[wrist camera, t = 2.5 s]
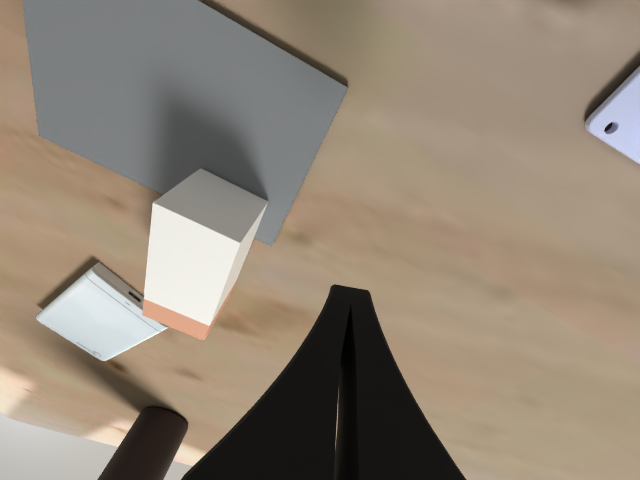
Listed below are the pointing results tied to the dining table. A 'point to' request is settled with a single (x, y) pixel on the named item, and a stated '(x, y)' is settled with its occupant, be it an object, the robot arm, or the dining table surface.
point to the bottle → (147, 447)
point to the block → (198, 250)
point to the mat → (178, 96)
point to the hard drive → (100, 314)
